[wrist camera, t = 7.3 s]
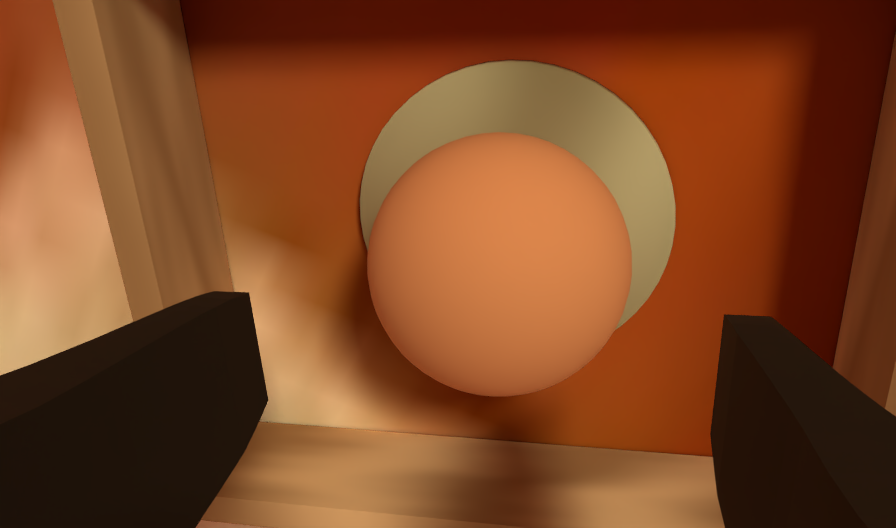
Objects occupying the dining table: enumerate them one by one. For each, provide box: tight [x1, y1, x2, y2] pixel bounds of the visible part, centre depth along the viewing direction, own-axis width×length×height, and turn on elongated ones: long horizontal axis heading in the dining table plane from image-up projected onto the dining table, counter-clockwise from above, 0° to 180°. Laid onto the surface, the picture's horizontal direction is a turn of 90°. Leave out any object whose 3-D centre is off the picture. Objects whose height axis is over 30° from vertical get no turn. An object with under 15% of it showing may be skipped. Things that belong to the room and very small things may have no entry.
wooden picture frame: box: [53, 0, 896, 528], centre depth 16 cm, size 16×14×3 cm
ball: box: [367, 132, 632, 397], centre depth 14 cm, size 5×5×5 cm
